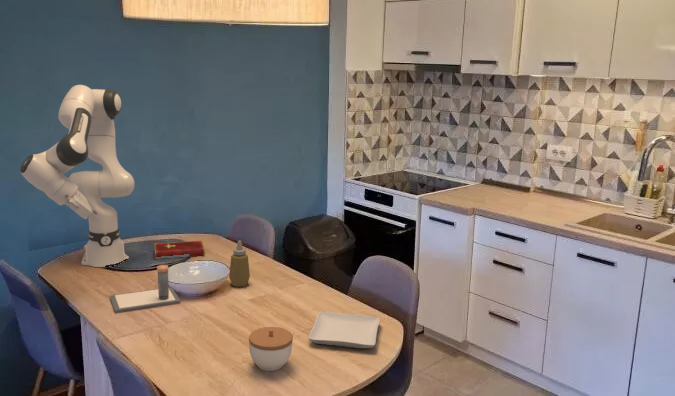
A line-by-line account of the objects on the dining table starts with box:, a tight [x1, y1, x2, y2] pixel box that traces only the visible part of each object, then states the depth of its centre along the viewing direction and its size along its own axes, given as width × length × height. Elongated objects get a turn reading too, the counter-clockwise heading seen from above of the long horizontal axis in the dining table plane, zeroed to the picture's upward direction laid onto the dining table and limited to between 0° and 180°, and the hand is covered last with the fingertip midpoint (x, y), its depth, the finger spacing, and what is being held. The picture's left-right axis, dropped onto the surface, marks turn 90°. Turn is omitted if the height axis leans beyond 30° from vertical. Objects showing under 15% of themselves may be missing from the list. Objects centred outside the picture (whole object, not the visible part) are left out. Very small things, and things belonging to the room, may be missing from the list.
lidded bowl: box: [248, 326, 294, 372], centre depth 171 cm, size 13×13×11 cm
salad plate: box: [307, 311, 381, 349], centre depth 192 cm, size 21×21×3 cm
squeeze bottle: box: [228, 240, 251, 288], centre depth 229 cm, size 8×8×18 cm
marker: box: [156, 264, 170, 300], centre depth 211 cm, size 4×4×12 cm
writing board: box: [109, 286, 181, 314], centre depth 213 cm, size 14×22×1 cm, turn 117°
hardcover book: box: [153, 240, 206, 258], centre depth 263 cm, size 12×21×4 cm, turn 108°
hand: (97, 217), depth 209 cm, fingers open, 8 cm apart
